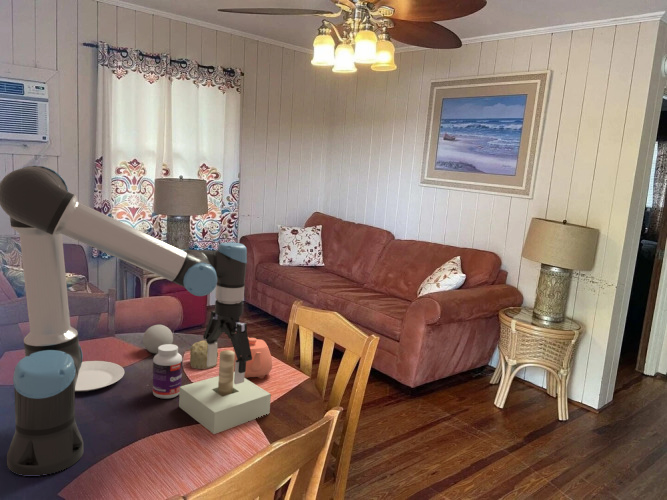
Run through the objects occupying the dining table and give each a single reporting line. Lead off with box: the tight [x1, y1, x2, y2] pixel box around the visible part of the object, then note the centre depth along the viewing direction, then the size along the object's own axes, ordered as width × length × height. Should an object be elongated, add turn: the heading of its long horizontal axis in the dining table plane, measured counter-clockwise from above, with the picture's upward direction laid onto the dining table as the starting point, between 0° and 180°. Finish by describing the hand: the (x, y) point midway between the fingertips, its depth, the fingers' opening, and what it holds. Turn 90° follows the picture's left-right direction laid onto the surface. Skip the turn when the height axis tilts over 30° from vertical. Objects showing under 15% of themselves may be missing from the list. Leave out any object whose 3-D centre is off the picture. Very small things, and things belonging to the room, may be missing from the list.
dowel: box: [218, 349, 235, 397], centre depth 143 cm, size 4×4×16 cm
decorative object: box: [189, 339, 219, 370], centre depth 173 cm, size 9×10×10 cm
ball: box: [142, 324, 174, 355], centre depth 179 cm, size 10×10×10 cm
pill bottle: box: [152, 343, 183, 400], centre depth 150 cm, size 8×8×14 cm
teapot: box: [232, 336, 273, 380], centre depth 167 cm, size 13×20×12 cm, turn 22°
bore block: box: [178, 372, 272, 435], centre depth 144 cm, size 18×18×6 cm
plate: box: [75, 360, 125, 392], centre depth 154 cm, size 21×21×2 cm
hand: (224, 373), depth 142 cm, fingers open, 13 cm apart
